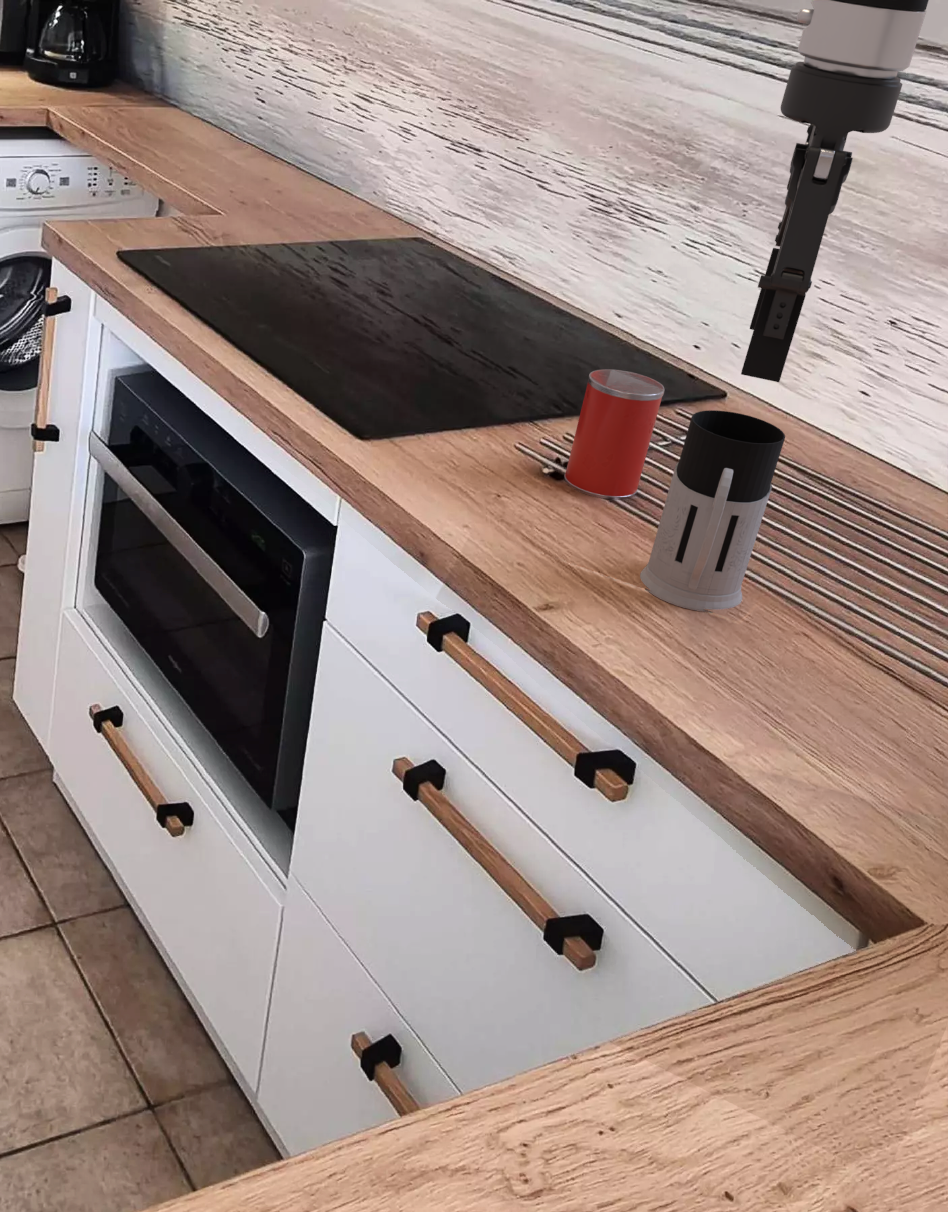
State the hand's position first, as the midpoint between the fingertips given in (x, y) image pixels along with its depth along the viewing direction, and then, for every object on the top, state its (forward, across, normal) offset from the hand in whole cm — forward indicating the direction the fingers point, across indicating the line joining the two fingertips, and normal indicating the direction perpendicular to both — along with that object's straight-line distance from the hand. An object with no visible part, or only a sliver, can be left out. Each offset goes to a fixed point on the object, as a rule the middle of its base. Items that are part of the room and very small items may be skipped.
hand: (763, 353), depth 122 cm
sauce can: (+23, -25, -10) cm, 36 cm away
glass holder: (+23, -3, 0) cm, 23 cm away
